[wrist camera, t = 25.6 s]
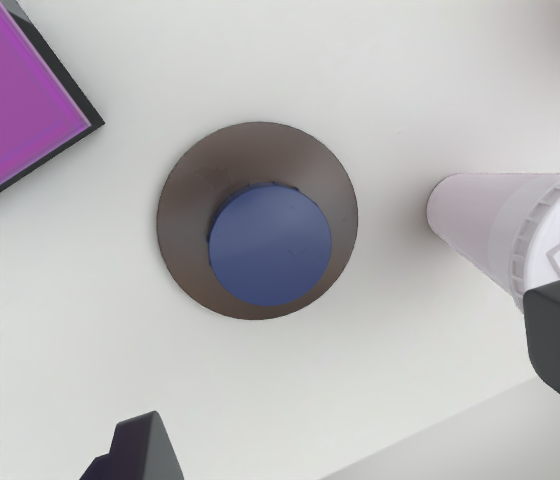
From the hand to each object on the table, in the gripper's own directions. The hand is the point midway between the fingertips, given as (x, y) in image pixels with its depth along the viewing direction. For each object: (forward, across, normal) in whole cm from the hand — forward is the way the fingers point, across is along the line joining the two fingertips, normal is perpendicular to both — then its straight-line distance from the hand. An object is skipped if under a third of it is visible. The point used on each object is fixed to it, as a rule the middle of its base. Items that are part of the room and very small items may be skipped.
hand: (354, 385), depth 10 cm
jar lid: (+13, 0, +1) cm, 13 cm away
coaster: (+15, 0, 0) cm, 15 cm away
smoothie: (+15, -11, +2) cm, 18 cm away
